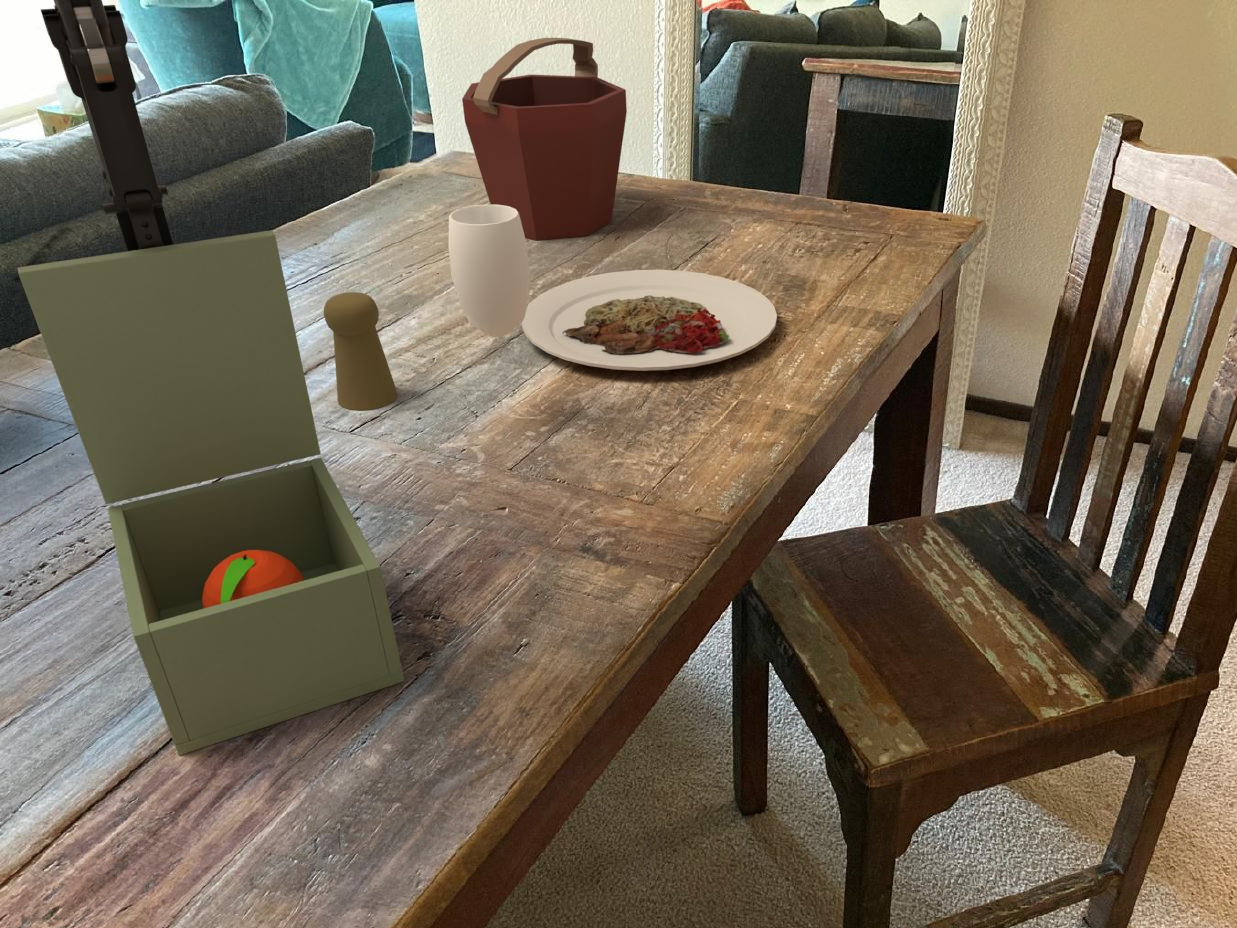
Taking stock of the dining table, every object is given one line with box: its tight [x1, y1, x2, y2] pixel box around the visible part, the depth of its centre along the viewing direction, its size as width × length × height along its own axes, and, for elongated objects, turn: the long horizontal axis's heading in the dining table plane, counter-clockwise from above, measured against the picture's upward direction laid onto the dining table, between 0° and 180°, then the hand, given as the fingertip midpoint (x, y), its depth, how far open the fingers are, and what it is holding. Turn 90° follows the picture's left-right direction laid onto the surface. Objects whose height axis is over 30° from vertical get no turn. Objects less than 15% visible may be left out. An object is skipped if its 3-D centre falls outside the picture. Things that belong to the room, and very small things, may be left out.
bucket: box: [461, 37, 628, 241], centre depth 156 cm, size 24×22×25 cm
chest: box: [107, 457, 405, 756], centre depth 77 cm, size 17×15×10 cm
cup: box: [447, 203, 531, 338], centre depth 105 cm, size 7×7×21 cm
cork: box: [323, 291, 399, 411], centre depth 111 cm, size 6×6×11 cm
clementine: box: [202, 550, 305, 608], centre depth 77 cm, size 8×7×7 cm
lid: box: [17, 229, 322, 505], centre depth 74 cm, size 18×15×1 cm
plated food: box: [520, 269, 778, 372], centre depth 129 cm, size 30×30×3 cm
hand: (166, 303), depth 73 cm, fingers closed
